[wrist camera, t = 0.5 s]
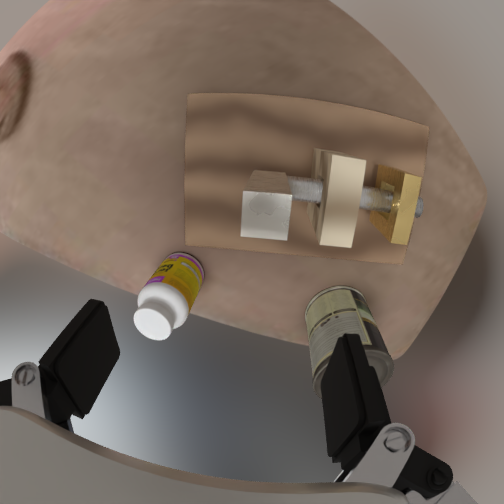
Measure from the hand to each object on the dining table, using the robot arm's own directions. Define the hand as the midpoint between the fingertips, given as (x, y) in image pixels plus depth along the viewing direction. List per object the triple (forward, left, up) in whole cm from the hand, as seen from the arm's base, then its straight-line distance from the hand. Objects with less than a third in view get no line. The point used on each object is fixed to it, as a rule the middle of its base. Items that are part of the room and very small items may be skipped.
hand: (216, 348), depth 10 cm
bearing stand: (-3, +6, -27) cm, 28 cm away
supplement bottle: (+12, -10, -27) cm, 31 cm away
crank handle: (-3, +9, -20) cm, 22 cm away
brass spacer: (-3, +15, -23) cm, 28 cm away
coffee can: (+17, +14, -27) cm, 35 cm away
